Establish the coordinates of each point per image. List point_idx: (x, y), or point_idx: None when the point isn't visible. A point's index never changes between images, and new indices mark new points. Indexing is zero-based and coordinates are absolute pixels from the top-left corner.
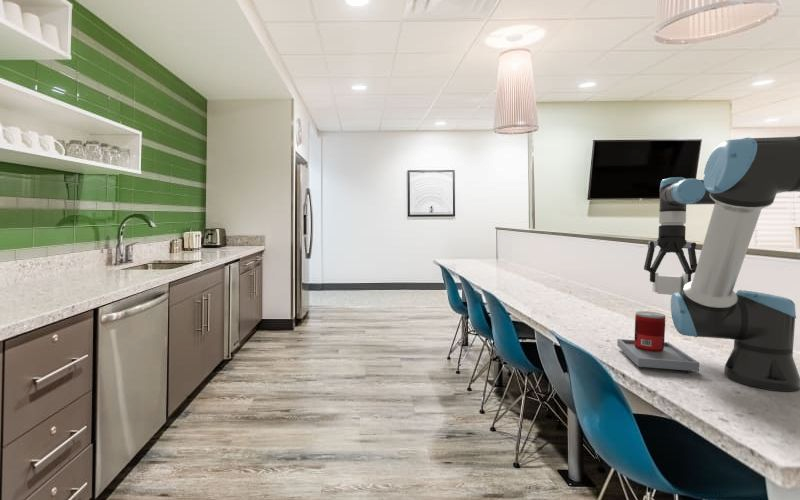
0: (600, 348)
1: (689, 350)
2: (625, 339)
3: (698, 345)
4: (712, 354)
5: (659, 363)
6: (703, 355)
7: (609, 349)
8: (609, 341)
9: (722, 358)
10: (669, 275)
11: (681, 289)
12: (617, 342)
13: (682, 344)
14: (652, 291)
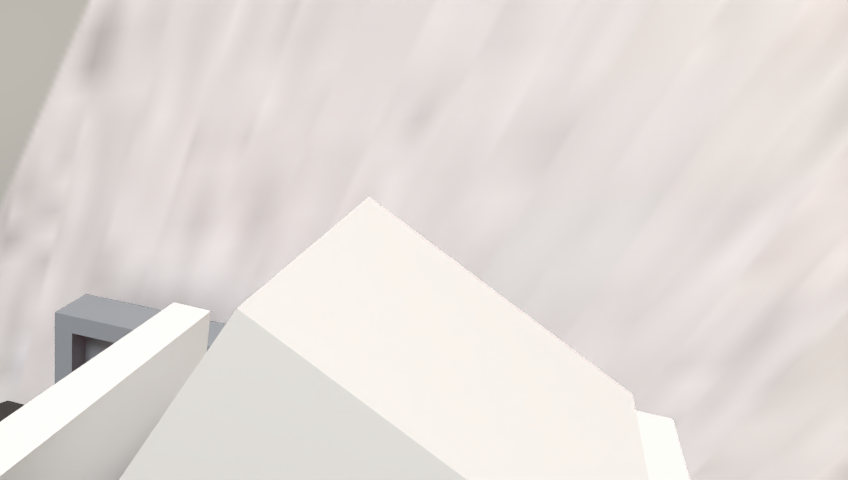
0: (3, 268)
1: (624, 274)
2: (105, 325)
3: (825, 113)
4: (736, 366)
5: None
6: (643, 391)
7: (53, 287)
8: (108, 69)
9: (735, 453)
10: (400, 467)
11: (638, 436)
12: (71, 305)
13: (690, 95)
14: (173, 304)
